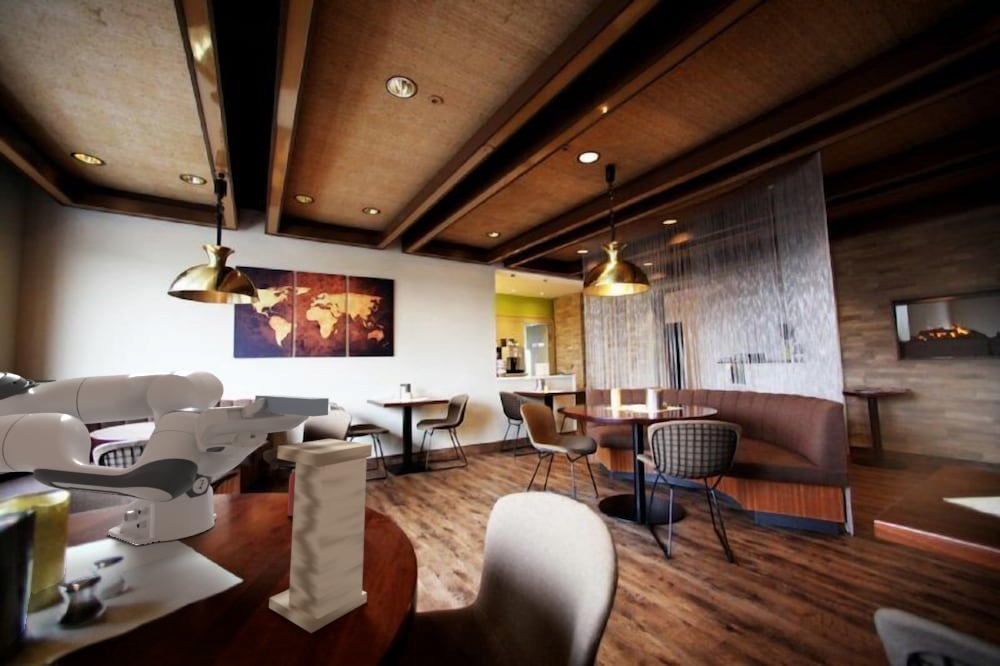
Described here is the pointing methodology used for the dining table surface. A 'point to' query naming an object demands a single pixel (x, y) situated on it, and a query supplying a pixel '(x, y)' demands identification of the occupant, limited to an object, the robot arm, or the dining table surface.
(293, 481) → the beer can
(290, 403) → the block
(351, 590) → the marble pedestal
